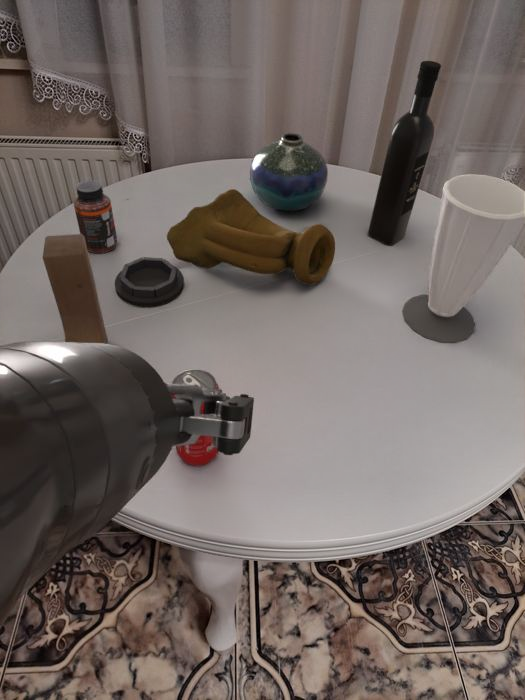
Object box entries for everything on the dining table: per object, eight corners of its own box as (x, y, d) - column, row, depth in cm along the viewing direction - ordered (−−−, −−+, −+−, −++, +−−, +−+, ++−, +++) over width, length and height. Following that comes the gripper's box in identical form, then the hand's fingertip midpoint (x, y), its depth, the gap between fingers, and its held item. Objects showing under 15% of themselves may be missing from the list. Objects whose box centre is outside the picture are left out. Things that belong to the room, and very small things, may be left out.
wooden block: (108, 385, 68) (82, 277, 55) (73, 390, 67) (38, 281, 54) (108, 339, 74) (83, 232, 61) (75, 343, 73) (44, 235, 60)
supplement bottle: (122, 249, 90) (112, 190, 82) (89, 258, 87) (75, 198, 79) (111, 232, 93) (101, 174, 85) (79, 240, 91) (65, 181, 83)
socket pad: (141, 316, 78) (139, 304, 76) (102, 282, 83) (99, 270, 81) (197, 288, 83) (197, 275, 82) (158, 257, 89) (156, 245, 87)
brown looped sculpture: (241, 182, 94) (345, 205, 83) (235, 251, 99) (332, 281, 88) (167, 185, 80) (280, 214, 69) (165, 265, 86) (269, 303, 74)
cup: (484, 313, 83) (543, 191, 67) (461, 354, 76) (521, 227, 60) (418, 286, 87) (459, 165, 71) (390, 322, 80) (430, 196, 64)
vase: (233, 203, 103) (234, 137, 94) (277, 176, 112) (282, 114, 103) (295, 230, 97) (303, 163, 88) (337, 200, 106) (348, 136, 97)
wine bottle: (406, 236, 98) (457, 64, 76) (390, 247, 95) (438, 72, 73) (381, 224, 100) (424, 55, 79) (365, 235, 97) (404, 62, 76)
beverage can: (192, 476, 59) (187, 413, 50) (168, 446, 62) (159, 381, 53) (228, 453, 61) (229, 389, 53) (203, 425, 64) (200, 360, 56)
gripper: (248, 360, 20) (260, 355, 36) (-107, 324, 20) (63, 335, 36) (228, 551, 20) (250, 460, 36) (-125, 511, 20) (53, 439, 37)
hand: (156, 397), depth 36 cm, fingers open, 8 cm apart
